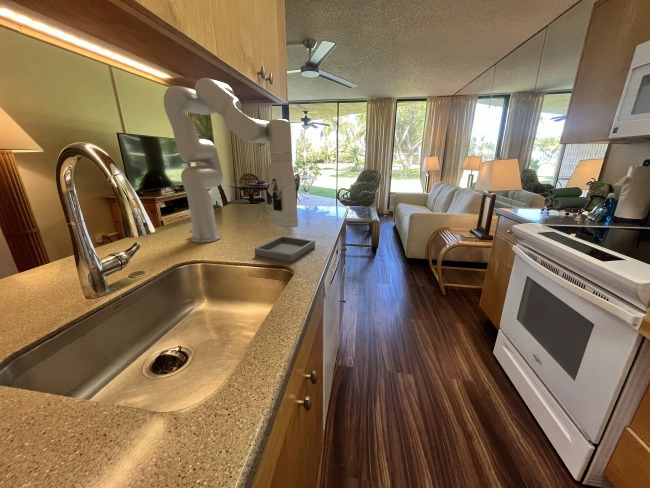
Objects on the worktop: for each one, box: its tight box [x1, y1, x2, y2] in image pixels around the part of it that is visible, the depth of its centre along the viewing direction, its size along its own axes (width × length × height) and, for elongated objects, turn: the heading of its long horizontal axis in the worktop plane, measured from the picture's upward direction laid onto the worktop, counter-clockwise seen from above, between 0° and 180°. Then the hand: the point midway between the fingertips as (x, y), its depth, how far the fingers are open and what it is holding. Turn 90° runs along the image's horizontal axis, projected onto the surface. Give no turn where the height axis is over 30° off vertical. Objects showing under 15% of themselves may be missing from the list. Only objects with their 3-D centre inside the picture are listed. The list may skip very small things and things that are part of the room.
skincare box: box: [271, 186, 299, 229], centre depth 97 cm, size 8×6×15 cm
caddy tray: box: [254, 235, 316, 265], centre depth 103 cm, size 16×18×3 cm
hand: (284, 208), depth 98 cm, fingers closed on skincare box, 7 cm apart
